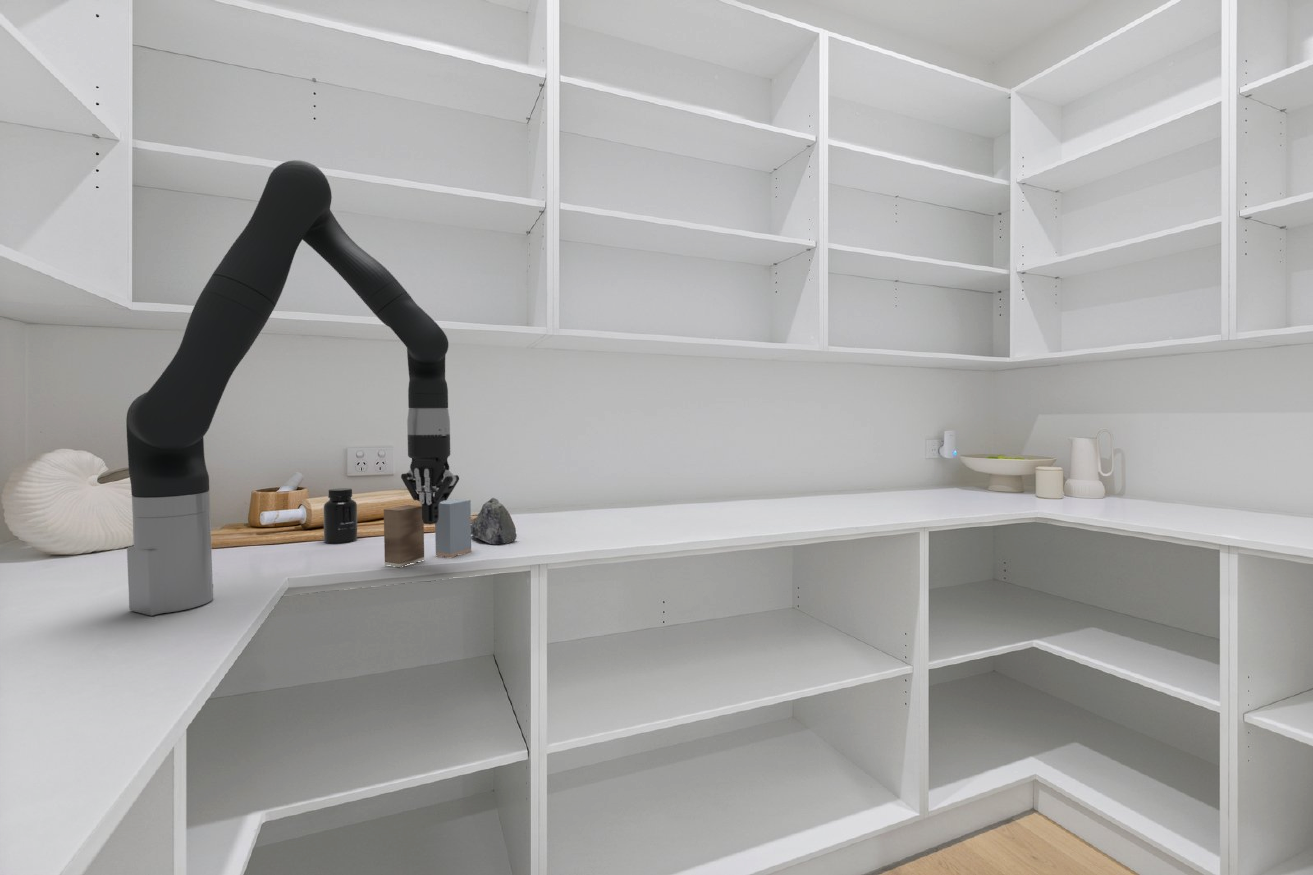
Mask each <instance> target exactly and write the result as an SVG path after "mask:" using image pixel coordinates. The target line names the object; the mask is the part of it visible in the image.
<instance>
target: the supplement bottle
mask: <svg viewBox="0 0 1313 875" xmlns="http://www.w3.org/2000/svg"><path fill="white" fill-rule="evenodd" d="M327 498H328V501H326V502H325V503H324V504H323V540H324V543H326V544H333V545H334V544H346V543H351V541H352V542H355V541H356V540H357V538H358V504H357V502H356V501H355V500H354V499H352V498H353V489H352V488H345V487H344V488H340V487H339V488H331V489H328V497H327ZM354 540H355V541H354Z"/></svg>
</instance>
